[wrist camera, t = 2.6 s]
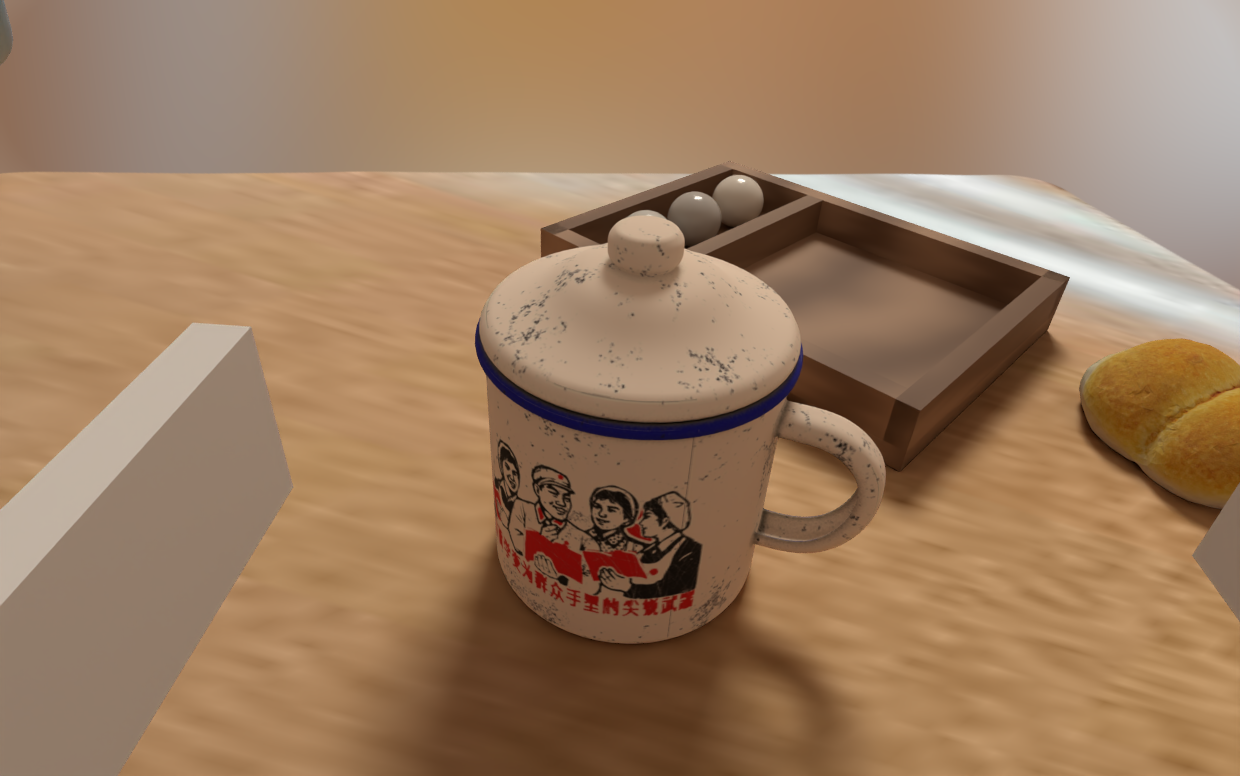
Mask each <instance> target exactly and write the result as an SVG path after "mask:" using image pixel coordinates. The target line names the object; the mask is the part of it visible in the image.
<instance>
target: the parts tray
mask: <svg viewBox="0 0 1240 776" xmlns="http://www.w3.org/2000/svg"><path fill="white" fill-rule="evenodd" d="M733 175H744V176H747V177H750V178H752V179H753V180H754V181H755V182H756V183H757V184H758V185H759V186H760V188H761V190H762V193H763V197H764V203H763V208H762V211H761V213H760V215H759V216H758V217H757V218H755V219H753V220H751V221H748V222H746V223H744V224H742V225H739V226H737V227H735V228H734V227H729V226H727V225H725V224H723V223H722V222H721V226H720V229H719V231H718V233H717V235H716V236H715V237H712V238H710V239H708V240H706V241H703V242H701V243H699V244H697V245H694V246H692V247H689V246H684V248H685V249H687V250H690V251H693V252H697V253H701V254H704V255H708V256H711V257H714V258H717V259H720V260H723V261H725V262H728V263H730V264H733V265H735V266H737V267H739V268H741V269H743V270H745V271H747V272H749V273H750V274H752V275H754V276H755V277H757V278H758V279H760V280H761V281H763V282H764V283H766V284H767V285H768V286H769V287H771V288H772V289H773V290H774V291H775V292H776V293H777V294H778V295H779V296H780V297H781V298H782V299H783V301H784V302H785V303H786V304H787V306H788V307H789V309H790V310H791V312H792V314H793V316H794V318H795V320H796V323H797V325H798V328H799V332H800V338H801V343H802V347H803V364H802V369H801V372H800V376H799V378H798V380H797V382H796V384H795V386H794V387H793V389H792V390H791V391H790V393H789V394H788V395H787V397H786V399H787V400H788V401H791V402H796V403H800V404H804V405H808V406H812V407H816V408H820V409H823V410H826V411H829V412H832V413H835V414H837V415H840V416H842V417H844V418H846V419H848V420H849V421H851V422H852V423H854V424H855V425H857V426H858V427H859V428H861V429H862V430H863V431H864V432H865V433H866V434H867V435H868V436H869V437H870V438H871V439H872V440H873V442H874V443H875V445H876V446H877V447H878V449H879V451H880V453H881V454H882V457H883V460H884V463H885V464H886V465H888V466H890V467H892V468H893V469H895V470H897V471H899V472H900V471H901V470H902V469H903V468H904V467H905V466H906V465H907V464H908V463H909V462H910V461H911V460H913V459H914V458H915V457H916V456H917V455H918V454H919V453H920V452H921V451H922V450H923V449H924V448H925V447H926V446H927V445H928V444H929V443H930V442H931V441H932V440H933V439H934V438H935V437H936V436H938V435H939V434H940V433H941V432H942V431H943V430H944V429H945V428H946V427H947V426H948V425H949V424H950V423H951V422H952V421H953V420H954V419H955V418H956V417H957V416H958V415H959V414H960V413H961V412H962V411H964V410H965V409H966V408H967V407H968V406H969V405H970V404H971V403H972V402H973V401H974V400H975V399H976V398H977V397H978V396H979V395H980V394H981V393H982V392H983V391H984V390H985V389H986V388H987V387H988V386H990V385H991V384H992V383H993V382H994V381H995V380H996V379H997V378H998V377H999V376H1000V375H1001V374H1002V373H1003V372H1004V371H1005V370H1006V369H1007V368H1008V367H1009V366H1010V365H1011V364H1012V363H1013V362H1015V361H1016V360H1017V359H1018V358H1019V357H1020V356H1021V355H1022V354H1023V353H1024V352H1025V351H1026V350H1027V349H1028V348H1029V347H1030V346H1031V345H1032V344H1033V343H1034V342H1035V341H1036V340H1037V339H1038V338H1039V337H1041V336H1042V335H1043V334H1044V333H1045V332H1046V331H1047V330H1048V328H1049V325H1050V323H1051V321H1052V318H1053V316H1054V314H1055V311H1056V309H1057V307H1058V304H1059V302H1060V299H1061V297H1062V295H1063V292H1064V290H1065V288H1066V285H1067V283H1068V281H1069V278H1070V277H1067V276H1064V275H1061V274H1058V273H1056V272H1053V271H1050V270H1047V269H1044V268H1041V267H1038V266H1035V265H1032V264H1029V263H1026V262H1023V261H1020V260H1018V259H1015V258H1012V257H1009V256H1006V255H1003V254H1000V253H997V252H994V251H991V250H988V249H985V248H982V247H980V246H977V245H974V244H971V243H968V242H965V241H962V240H959V239H956V238H953V237H950V236H947V235H945V234H942V233H939V232H936V231H933V230H930V229H927V228H924V227H921V226H918V225H915V224H912V223H909V222H907V221H904V220H901V219H898V218H895V217H892V216H889V215H886V214H883V213H880V212H877V211H874V210H872V209H869V208H866V207H863V206H860V205H857V204H854V203H851V202H848V201H845V200H842V199H839V198H836V197H834V196H831V195H828V194H825V193H822V192H819V191H816V190H813V189H810V188H807V187H804V186H801V185H799V184H796V183H793V182H790V181H787V180H784V179H781V178H778V177H775V176H772V175H769V174H766V173H763V172H761V171H757V170H755V169H752V168H749V167H745V166H743V165H740V164H737V163H734V162H731V161H728V162H726V163H723V164H720V165H717V166H714V167H712V168H709V169H706V170H703V171H701V172H698V173H695V174H692V175H689V176H686V177H684V178H681V179H678V180H675V181H672V182H670V183H667V184H664V185H661V186H658V187H656V188H653V189H650V190H647V191H644V192H642V193H639V194H636V195H633V196H630V197H628V198H625V199H622V200H619V201H616V202H614V203H611V204H608V205H605V206H602V207H600V208H597V209H594V210H591V211H588V212H586V213H583V214H580V215H577V216H574V217H572V218H569V219H566V220H563V221H560V222H558V223H555V224H552V225H549V226H546V227H544V228H541V258H542V257H545V256H548V255H551V254H554V253H557V252H561V251H565V250H569V249H574V248H579V247H586V246H594V245H602V244H605V243H608V235H609V232H610V230H611V229H612V227H613V226H614V225H615V224H616V223H617V222H619V221H620V220H622V219H624V218H627V217H628V216H629V215H631V214H632V213H634V212H637V211H641V210H651V211H655V212H657V213H659V214H661V215H663V216H664V217H665V218H666V219H667V215H668V211H669V208H670V206H671V205H672V203H673V202H674V201H675V200H676V199H677V198H678V197H679V196H681V195H682V194H685V193H688V192H694V191H696V192H702V193H705V194H707V195H709V196H710V197H712V196H713V193H714V190H715V189H716V187H717V185H718V184H719V183H720V182H721V181H723V180H724V179H726V178H727V177H730V176H733Z"/></svg>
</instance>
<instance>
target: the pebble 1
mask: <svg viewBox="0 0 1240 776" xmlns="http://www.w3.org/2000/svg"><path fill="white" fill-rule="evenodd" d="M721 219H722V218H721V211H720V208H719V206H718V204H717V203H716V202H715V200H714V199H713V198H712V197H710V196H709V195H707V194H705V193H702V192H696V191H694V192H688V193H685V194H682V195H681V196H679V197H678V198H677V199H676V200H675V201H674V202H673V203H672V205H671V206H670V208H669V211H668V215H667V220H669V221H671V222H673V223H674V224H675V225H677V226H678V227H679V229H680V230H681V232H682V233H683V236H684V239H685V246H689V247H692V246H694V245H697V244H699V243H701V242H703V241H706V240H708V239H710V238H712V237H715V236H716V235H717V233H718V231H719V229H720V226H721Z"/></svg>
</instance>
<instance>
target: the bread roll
mask: <svg viewBox="0 0 1240 776" xmlns="http://www.w3.org/2000/svg"><path fill="white" fill-rule="evenodd" d="M1079 391H1080V398H1081V403H1082V407H1083V410H1084V413H1085V415H1086V418H1087V421H1088V423H1089V425H1090V427H1091V429H1092V430H1093V431H1094V433H1095V434H1096V435H1097V436H1098V437H1099V438H1100V439H1101V440H1102V441H1104V442H1105V443H1106V444H1107V445H1108V446H1109V447H1111V448H1112V449H1113V450H1115V451H1116V452H1118V453H1119V454H1121V455H1123V456H1124V457H1125V458H1127V459H1129V460H1131V461H1134V462H1136V463H1137V464H1138V465H1139V466H1140V467H1141V469H1142V470H1143V472H1144V473H1145V474H1146V475H1147V476H1148V477H1150V478H1151V479H1152V480H1153V481H1155V482H1156V483H1157V484H1159V485H1160V486H1162V487H1163V488H1165V489H1166V490H1168V491H1170V492H1171V493H1173V494H1175V495H1177V496H1179V497H1181V498H1183V499H1185V500H1187V501H1191V502H1193V503H1198V504H1202V505H1205V506H1208V507H1212V508H1218V509H1223V507H1224V506H1225V504H1226V503H1227V501H1228V500H1229V498H1230V497H1231V495H1232V494H1233V492H1234V491H1235V489H1236V487H1237V486H1238V484H1239V483H1240V366H1239V365H1238V364H1237V363H1236V362H1235V361H1234V360H1233V359H1232V358H1230V357H1229V356H1227V355H1226V354H1224V353H1223V352H1221V351H1219V350H1218V349H1216V348H1214V347H1212V346H1210V345H1207V344H1202V343H1198V342H1195V341H1192V340H1187V339H1164V340H1156V341H1151V342H1147V343H1144V344H1141V345H1138V346H1135V347H1133V348H1131V349H1127V350H1124V351H1121V352H1119V353H1116V354H1111V355H1108V356H1106V357H1104V358H1103V359H1101V360H1099V361H1098V362H1096V363H1094V364H1093V365H1092V366H1090V367H1089V368H1088V369H1087V370H1086V372H1085V374H1084V375H1083V377H1082V379H1081V382H1080V387H1079Z"/></svg>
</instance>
